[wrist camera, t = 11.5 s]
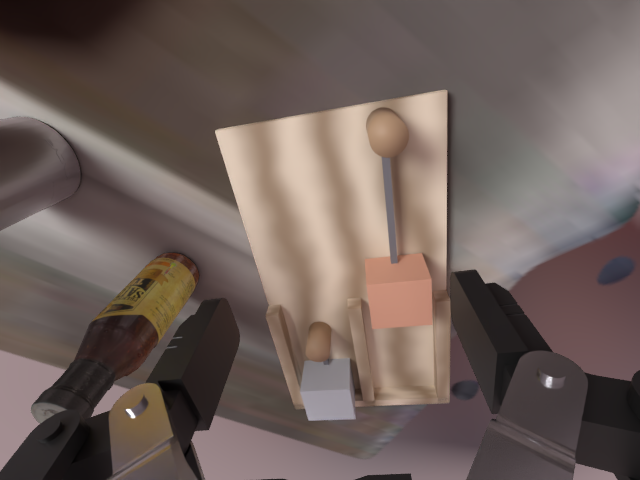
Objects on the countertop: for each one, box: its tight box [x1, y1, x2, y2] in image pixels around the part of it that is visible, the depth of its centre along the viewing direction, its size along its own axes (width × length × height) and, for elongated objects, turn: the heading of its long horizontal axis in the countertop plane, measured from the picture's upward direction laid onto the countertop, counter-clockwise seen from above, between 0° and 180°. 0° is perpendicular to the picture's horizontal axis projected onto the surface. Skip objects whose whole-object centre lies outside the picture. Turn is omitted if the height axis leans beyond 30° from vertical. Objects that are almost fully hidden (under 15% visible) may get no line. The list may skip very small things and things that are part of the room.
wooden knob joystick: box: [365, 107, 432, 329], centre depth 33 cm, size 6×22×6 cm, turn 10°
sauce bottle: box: [31, 253, 199, 424], centre depth 34 cm, size 6×6×20 cm
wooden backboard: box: [215, 90, 451, 409], centre depth 40 cm, size 22×40×3 cm, turn 10°
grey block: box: [300, 321, 355, 421], centre depth 44 cm, size 6×13×5 cm, turn 10°
